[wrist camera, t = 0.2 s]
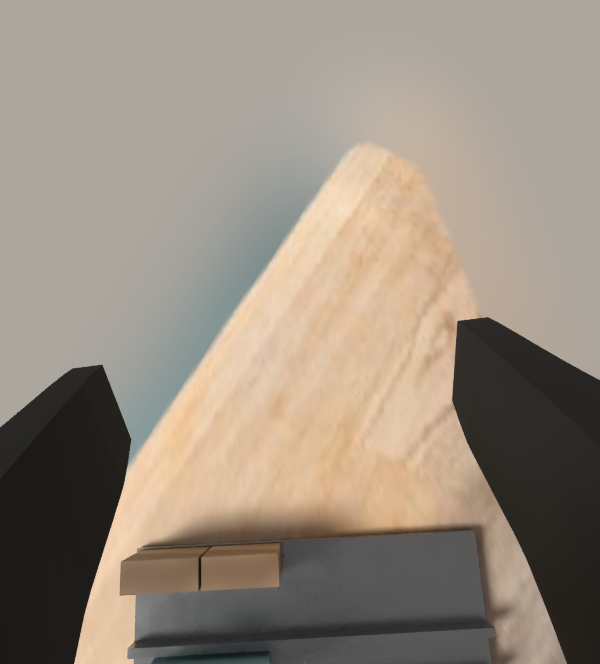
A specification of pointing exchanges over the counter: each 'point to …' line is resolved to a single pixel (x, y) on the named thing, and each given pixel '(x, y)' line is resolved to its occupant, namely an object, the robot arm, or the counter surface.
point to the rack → (335, 605)
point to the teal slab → (218, 658)
